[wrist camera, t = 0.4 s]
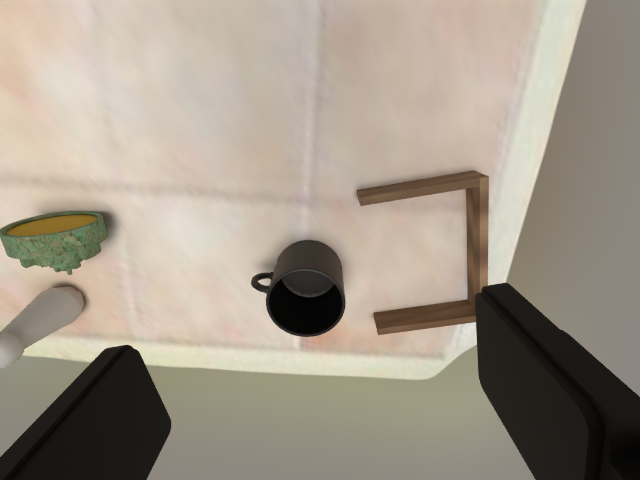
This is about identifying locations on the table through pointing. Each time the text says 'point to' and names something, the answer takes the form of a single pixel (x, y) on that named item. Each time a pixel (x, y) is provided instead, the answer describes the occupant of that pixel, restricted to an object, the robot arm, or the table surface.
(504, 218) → the table surface
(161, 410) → the robot arm
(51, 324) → the salt shaker
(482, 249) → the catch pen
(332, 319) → the mug
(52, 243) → the decorative artifact
